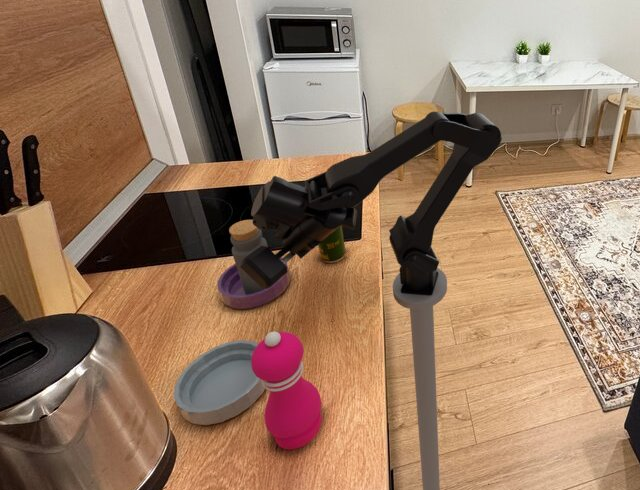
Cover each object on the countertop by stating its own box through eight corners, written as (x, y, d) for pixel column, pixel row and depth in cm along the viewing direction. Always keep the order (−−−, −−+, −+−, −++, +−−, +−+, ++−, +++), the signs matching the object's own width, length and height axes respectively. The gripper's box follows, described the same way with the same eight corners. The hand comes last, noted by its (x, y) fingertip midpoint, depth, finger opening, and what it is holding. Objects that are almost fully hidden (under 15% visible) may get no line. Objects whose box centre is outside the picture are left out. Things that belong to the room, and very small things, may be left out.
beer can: (336, 245, 98) (329, 202, 93) (351, 255, 95) (344, 211, 90) (315, 257, 94) (307, 213, 89) (330, 267, 91) (322, 223, 86)
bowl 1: (301, 269, 91) (298, 256, 89) (269, 313, 80) (265, 299, 78) (246, 264, 91) (242, 252, 89) (207, 308, 80) (202, 294, 78)
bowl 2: (286, 357, 72) (282, 343, 70) (242, 430, 61) (236, 416, 59) (216, 351, 72) (211, 337, 70) (160, 423, 61) (152, 408, 59)
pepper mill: (266, 422, 62) (232, 329, 53) (316, 394, 66) (293, 303, 57) (278, 465, 57) (244, 370, 48) (332, 432, 61) (310, 339, 52)
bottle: (275, 293, 83) (259, 233, 77) (241, 299, 82) (221, 238, 75) (278, 273, 88) (263, 215, 81) (247, 279, 86) (229, 220, 79)
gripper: (320, 165, 78) (283, 202, 86) (234, 220, 62) (198, 259, 70) (360, 209, 80) (321, 241, 88) (287, 273, 64) (247, 305, 72)
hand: (276, 258), depth 79 cm, fingers open, 9 cm apart
